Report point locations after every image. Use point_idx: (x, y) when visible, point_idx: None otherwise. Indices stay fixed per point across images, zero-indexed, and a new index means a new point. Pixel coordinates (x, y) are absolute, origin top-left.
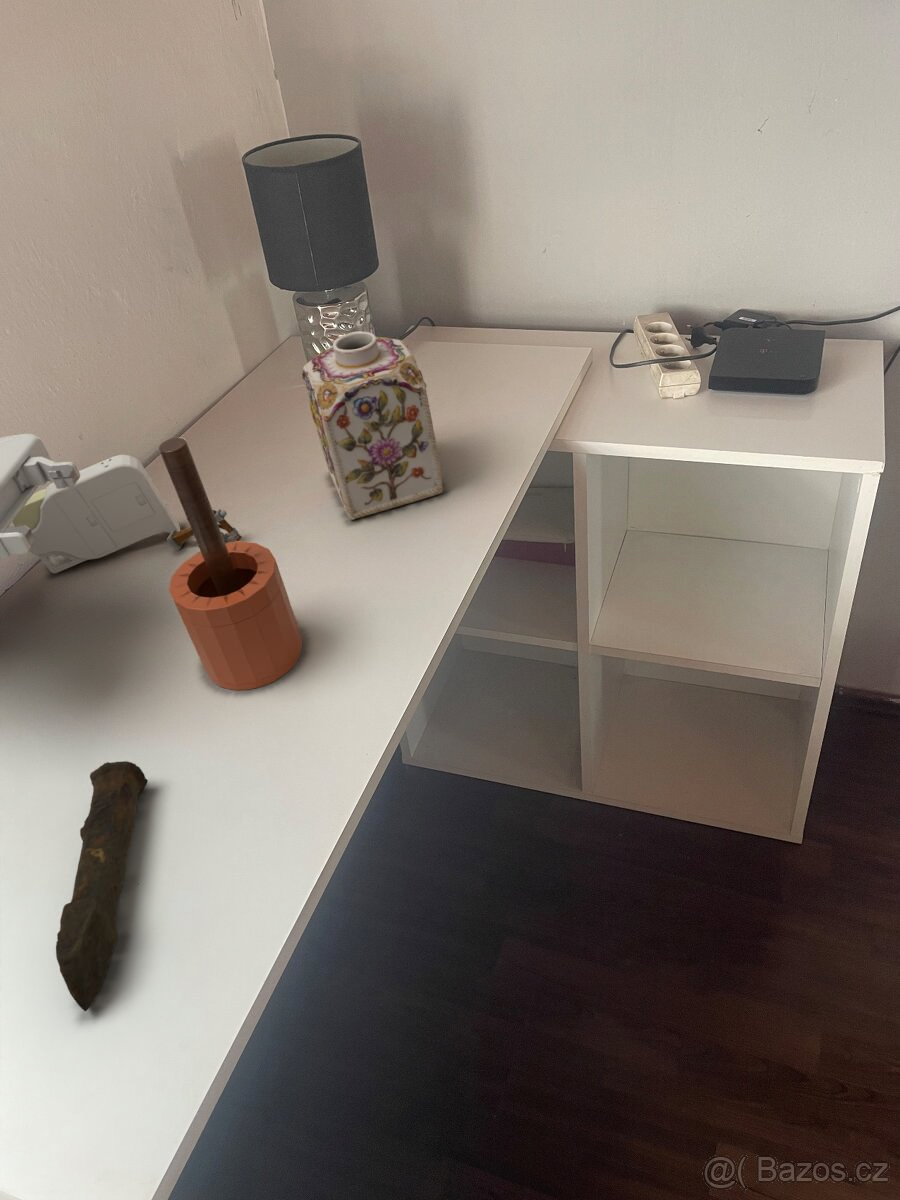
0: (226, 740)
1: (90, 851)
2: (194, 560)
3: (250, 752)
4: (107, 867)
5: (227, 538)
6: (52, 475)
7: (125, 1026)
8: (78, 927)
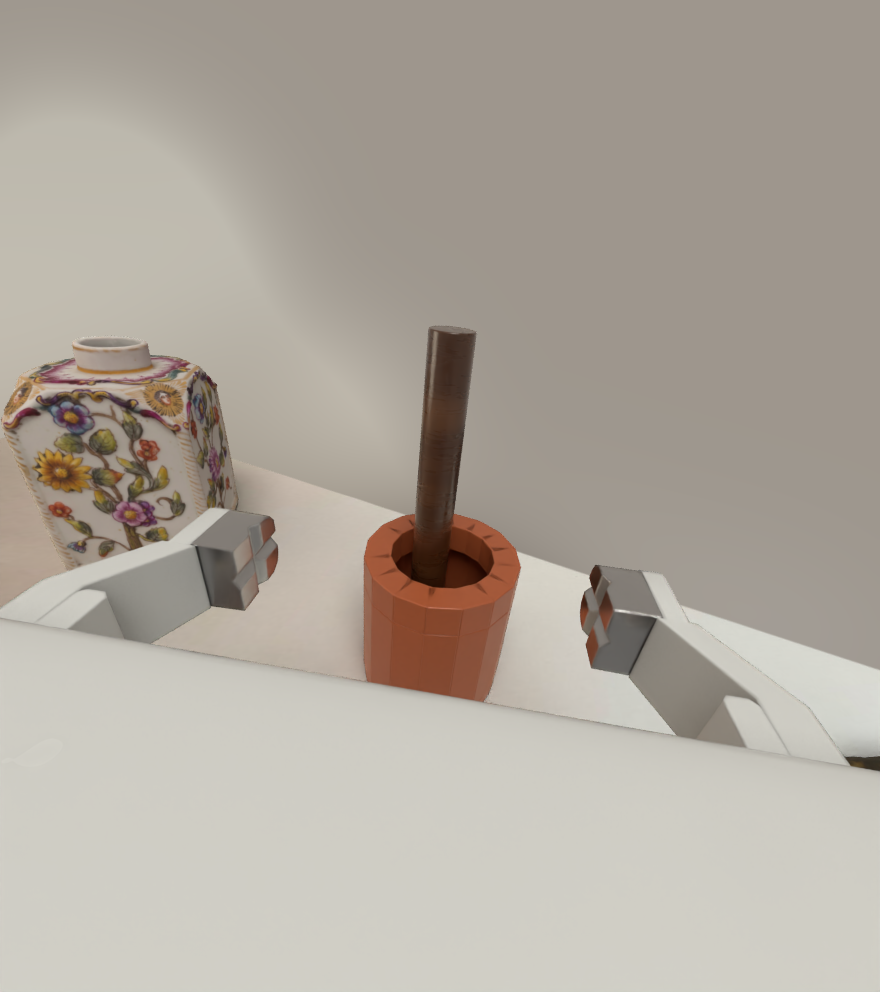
0: (575, 687)
1: None
2: (395, 581)
3: (588, 661)
4: (859, 758)
5: None
6: (240, 559)
7: None
8: None
